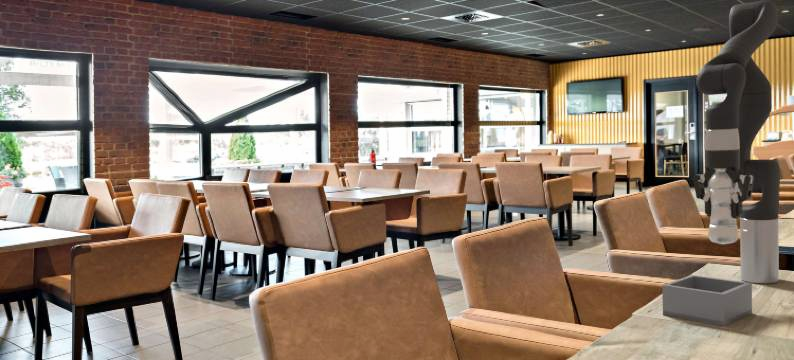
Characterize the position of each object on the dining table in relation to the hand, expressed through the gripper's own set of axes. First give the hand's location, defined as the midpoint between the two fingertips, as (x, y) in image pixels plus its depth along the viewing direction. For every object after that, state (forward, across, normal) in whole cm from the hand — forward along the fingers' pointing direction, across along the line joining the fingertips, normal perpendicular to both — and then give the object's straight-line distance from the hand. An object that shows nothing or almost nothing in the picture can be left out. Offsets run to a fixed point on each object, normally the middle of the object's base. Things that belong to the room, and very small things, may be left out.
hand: (723, 217), depth 163 cm
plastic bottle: (+7, 0, 0) cm, 7 cm away
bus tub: (+21, -2, +13) cm, 25 cm away
